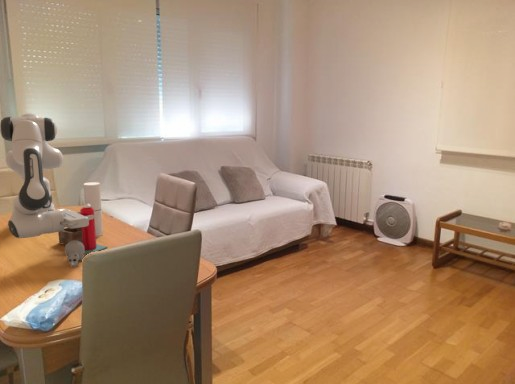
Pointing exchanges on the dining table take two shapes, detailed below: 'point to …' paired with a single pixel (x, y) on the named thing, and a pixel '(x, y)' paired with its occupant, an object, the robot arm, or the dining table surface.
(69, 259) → the grey animal figurine
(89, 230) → the red bottle
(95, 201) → the cylindrical container
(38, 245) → the dining table surface
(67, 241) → the brown open wooden box
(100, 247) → the mat
